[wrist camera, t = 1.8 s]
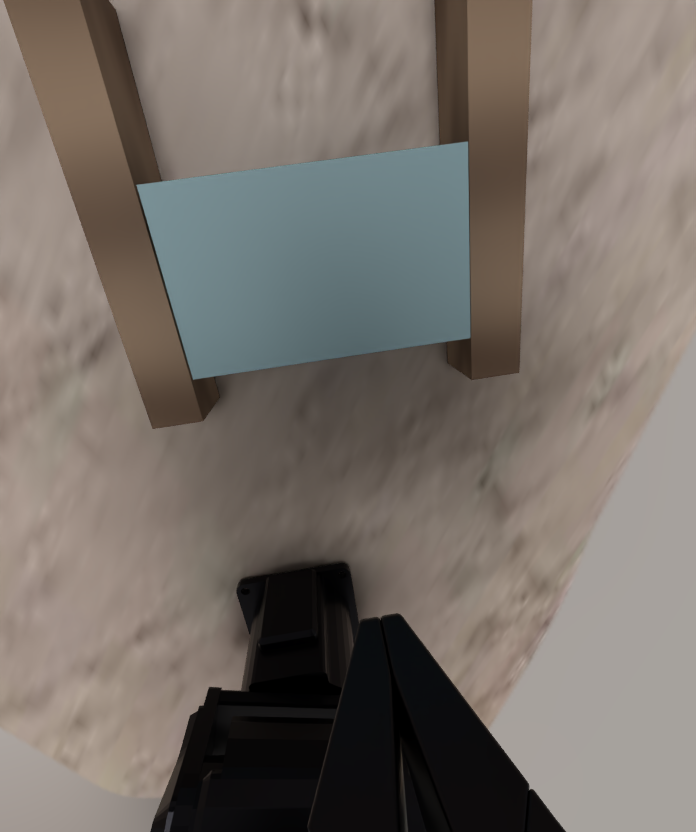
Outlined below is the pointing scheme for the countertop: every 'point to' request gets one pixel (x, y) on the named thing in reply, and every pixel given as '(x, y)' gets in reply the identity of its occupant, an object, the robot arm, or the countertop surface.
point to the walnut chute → (135, 164)
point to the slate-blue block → (315, 258)
